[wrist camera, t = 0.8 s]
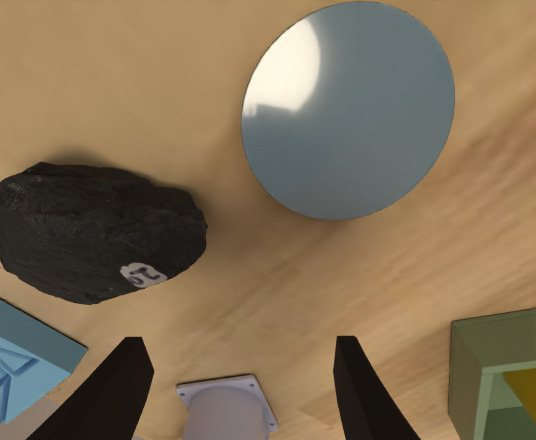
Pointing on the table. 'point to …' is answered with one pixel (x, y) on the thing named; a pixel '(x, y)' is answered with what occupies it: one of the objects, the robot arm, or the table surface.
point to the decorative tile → (31, 360)
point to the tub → (491, 376)
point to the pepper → (524, 388)
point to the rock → (95, 231)
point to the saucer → (347, 110)
